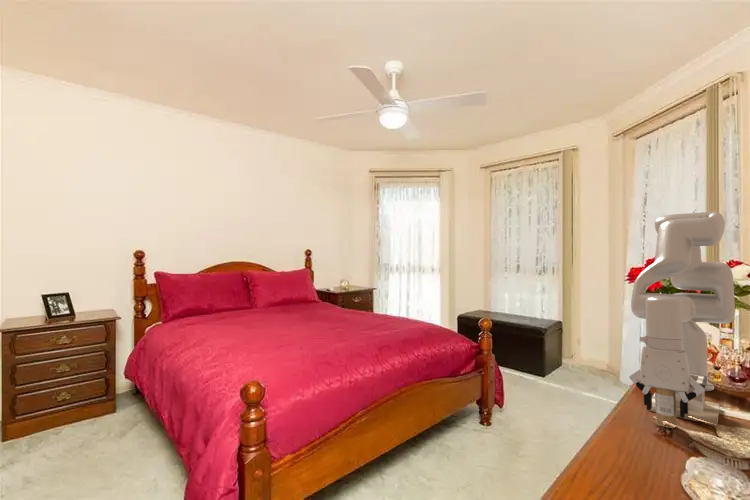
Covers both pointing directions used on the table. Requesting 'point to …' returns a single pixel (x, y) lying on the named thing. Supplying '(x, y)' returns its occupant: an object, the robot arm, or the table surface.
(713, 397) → the table surface
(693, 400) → the silver stepped pedestal
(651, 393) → the robot arm
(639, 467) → the table surface
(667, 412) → the sprinkles bottle
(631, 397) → the table surface
